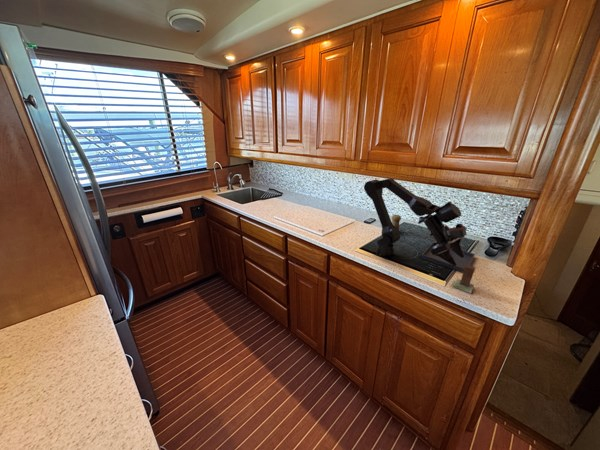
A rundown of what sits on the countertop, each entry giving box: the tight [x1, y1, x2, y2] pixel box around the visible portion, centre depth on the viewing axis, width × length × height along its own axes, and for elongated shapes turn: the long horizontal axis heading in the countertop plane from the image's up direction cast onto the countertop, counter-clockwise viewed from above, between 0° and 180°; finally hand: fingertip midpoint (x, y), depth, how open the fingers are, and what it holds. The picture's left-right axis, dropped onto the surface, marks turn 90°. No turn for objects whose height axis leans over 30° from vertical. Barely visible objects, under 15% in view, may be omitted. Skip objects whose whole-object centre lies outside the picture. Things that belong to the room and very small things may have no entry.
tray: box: [420, 241, 476, 274], centre depth 117 cm, size 19×19×2 cm
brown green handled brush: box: [453, 264, 476, 294], centre depth 94 cm, size 6×4×10 cm, turn 47°
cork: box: [391, 214, 402, 228], centre depth 143 cm, size 6×6×11 cm
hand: (459, 261), depth 95 cm, fingers open, 9 cm apart
